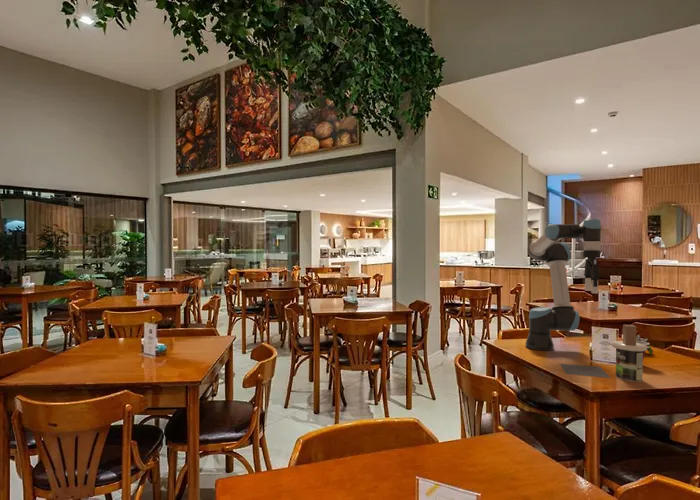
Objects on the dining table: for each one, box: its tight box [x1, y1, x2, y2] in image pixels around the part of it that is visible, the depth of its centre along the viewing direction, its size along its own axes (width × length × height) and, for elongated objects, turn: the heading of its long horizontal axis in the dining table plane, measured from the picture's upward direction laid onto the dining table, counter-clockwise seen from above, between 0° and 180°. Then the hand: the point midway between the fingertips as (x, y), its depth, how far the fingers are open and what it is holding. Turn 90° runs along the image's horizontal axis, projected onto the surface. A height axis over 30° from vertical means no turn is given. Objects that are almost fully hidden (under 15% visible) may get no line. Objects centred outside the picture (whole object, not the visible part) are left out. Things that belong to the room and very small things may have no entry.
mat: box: [559, 363, 611, 379], centre depth 197 cm, size 18×18×1 cm
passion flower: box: [636, 334, 654, 355], centre depth 233 cm, size 11×11×12 cm
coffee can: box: [615, 348, 644, 382], centre depth 186 cm, size 10×10×14 cm
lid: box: [611, 324, 648, 352], centre depth 186 cm, size 13×13×10 cm
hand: (591, 292), depth 208 cm, fingers open, 13 cm apart
